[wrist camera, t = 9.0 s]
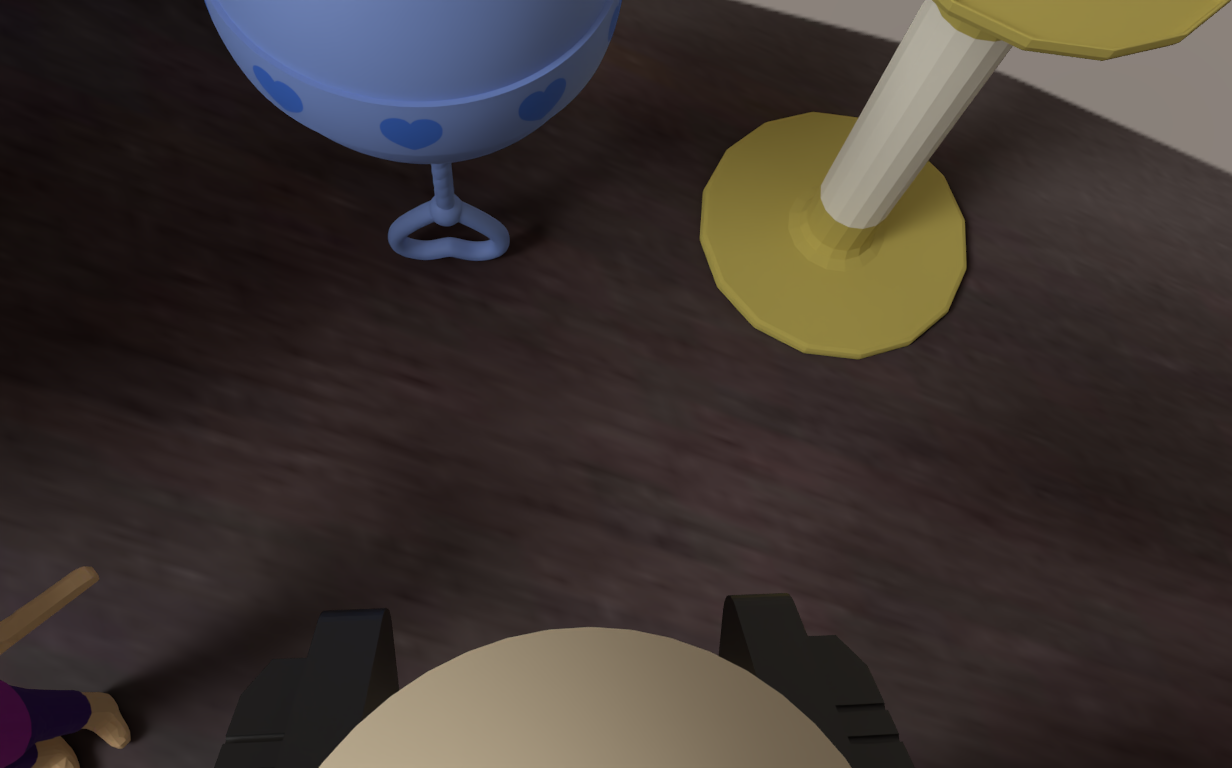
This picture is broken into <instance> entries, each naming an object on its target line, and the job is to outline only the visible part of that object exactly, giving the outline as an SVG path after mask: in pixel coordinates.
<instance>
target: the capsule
mask: <svg viewBox="0 0 1232 768" xmlns="http://www.w3.org/2000/svg"><path fill="white" fill-rule="evenodd" d="M319 768H852V767H851V766H850V765H849V763H848V762H847V760H846V759H845V757H844V756H843V755H842V754H841V753H840V752H839V751H838V749H837V748H836V747H835V746H834V745H833V744H832V743H831V741H830V740H829V739H828V738H827V737H826V736H825V735H824V733H823V732H822V731H821V730H820V729H819V728H818V727H817V725H816V724H815V723H814V722H812V721H811V720H810V719H809V718H808V717H807V716H806V715H805V714H803V713H802V712H801V711H800V710H799V709H798V708H797V707H796V706H794V705H793V704H792V703H791V702H790V701H789V700H788V699H787V698H785V697H784V696H783V695H782V694H780V693H779V692H778V691H776V690H775V689H773V688H772V687H770V686H769V685H767V684H766V683H764V682H763V681H762V680H760V679H759V678H757V677H756V676H754V675H753V674H751V673H750V672H748V671H747V670H745V669H743V668H741V667H739V666H737V665H735V664H733V663H731V662H729V661H727V660H725V659H723V658H721V657H719V656H717V655H715V654H713V653H711V652H709V651H706V650H703V649H701V648H698V647H695V646H692V645H689V644H686V643H684V642H681V641H678V640H675V639H672V638H668V637H663V636H658V635H654V634H649V633H644V632H639V631H634V630H627V629H612V628H598V627H582V628H567V629H552V630H545V631H540V632H535V633H530V634H525V635H520V636H515V637H510V638H506V639H504V640H501V641H498V642H495V643H492V644H489V645H486V646H483V647H480V648H477V649H475V650H472V651H469V652H466V653H464V654H462V655H460V656H458V657H456V658H454V659H452V660H450V661H448V662H446V663H444V664H442V665H440V666H438V667H436V668H434V669H432V670H430V671H428V672H427V673H425V674H424V675H422V676H421V677H419V678H418V679H416V680H415V681H413V682H412V683H410V684H409V685H407V686H406V687H404V688H403V689H401V690H400V691H398V692H397V693H395V694H394V695H392V696H391V697H389V698H388V699H387V700H386V701H385V702H384V703H382V704H381V705H380V706H379V707H378V708H377V709H375V710H374V711H373V712H372V713H371V714H370V715H368V716H367V717H366V718H365V719H364V720H363V721H361V722H360V723H359V724H358V725H357V726H356V727H355V728H354V729H353V730H352V731H351V732H350V733H349V734H348V735H347V736H346V737H345V739H344V740H343V741H342V742H341V743H340V744H339V745H338V746H337V747H336V748H335V750H334V751H333V752H332V753H331V754H330V755H329V756H328V757H327V758H326V759H325V760H324V762H323V763H322V764H321V765H320V767H319Z"/></svg>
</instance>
